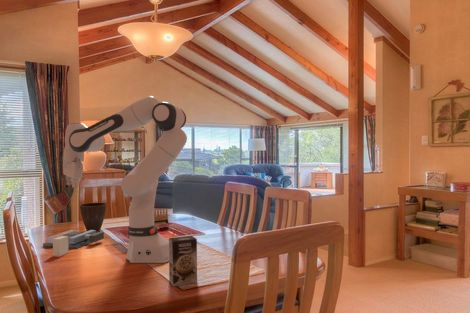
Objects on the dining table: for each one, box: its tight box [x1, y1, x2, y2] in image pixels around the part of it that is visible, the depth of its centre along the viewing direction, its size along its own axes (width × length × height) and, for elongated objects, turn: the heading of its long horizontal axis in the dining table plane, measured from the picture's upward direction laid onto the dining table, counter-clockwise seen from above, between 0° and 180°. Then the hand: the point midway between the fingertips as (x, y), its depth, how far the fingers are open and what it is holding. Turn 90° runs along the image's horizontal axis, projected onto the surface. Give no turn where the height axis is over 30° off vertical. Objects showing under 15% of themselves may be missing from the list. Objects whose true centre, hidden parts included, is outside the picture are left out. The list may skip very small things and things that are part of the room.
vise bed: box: [42, 229, 93, 250], centre depth 190 cm, size 20×20×4 cm
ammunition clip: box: [154, 208, 169, 225], centre depth 221 cm, size 11×2×12 cm, turn 117°
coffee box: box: [168, 235, 198, 287], centre depth 131 cm, size 9×6×16 cm
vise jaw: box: [69, 230, 105, 244], centre depth 188 cm, size 11×18×3 cm, turn 166°
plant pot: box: [79, 202, 107, 233], centre depth 217 cm, size 15×15×16 cm
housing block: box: [52, 236, 69, 258], centre depth 169 cm, size 4×6×8 cm, turn 166°
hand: (71, 186), depth 169 cm, fingers open, 8 cm apart
